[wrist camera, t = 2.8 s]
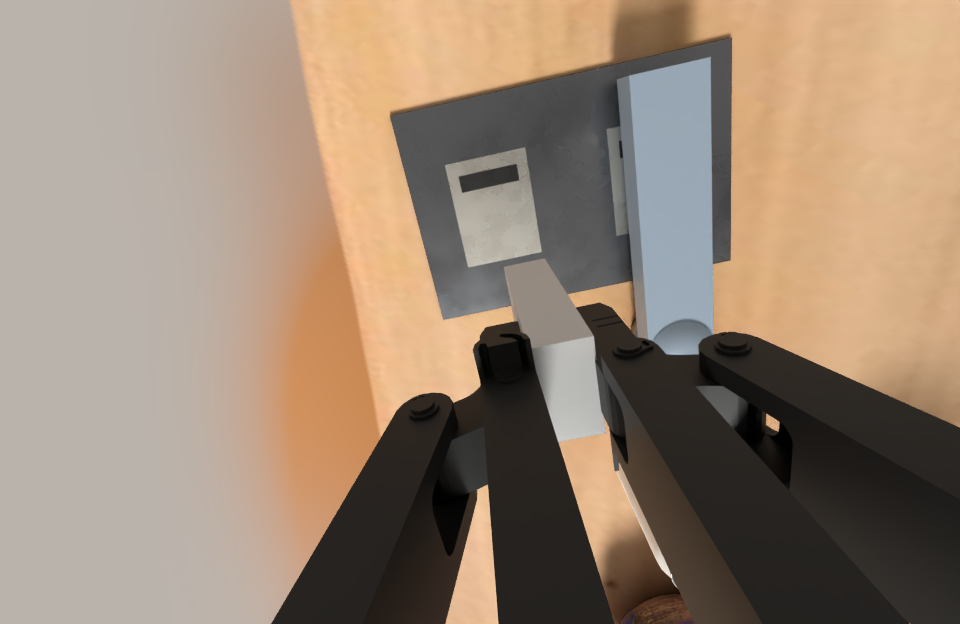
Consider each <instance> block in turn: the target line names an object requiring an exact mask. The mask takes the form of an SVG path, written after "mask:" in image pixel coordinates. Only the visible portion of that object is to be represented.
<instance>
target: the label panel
mask: <svg viewBox="0 0 960 624" xmlns="http://www.w3.org/2000/svg"><path fill="white" fill-rule="evenodd" d="M708 57H711V147H712V250H713V264H715V263H720V262H725V261H730V259H731V95H732V38H728V39H724V40H719V41H715V42H711V43H706V44H702V45H697V46H693V47H689V48H684V49H680V50H676V51H671V52H667V53H663V54H658V55H654V56H650V57H645V58H641V59H637V60H632V61H628V62H623V63H619V64H615V65H610V66H606V67H602V68H597V69H593V70H589V71H584V72H580V73H576V74H571V75H567V76H562V77H558V78H554V79H549V80H545V81H541V82H536V83H532V84H528V85H523V86H519V87H515V88H510V89H506V90H502V91H497V92H493V93H488V94H484V95H480V96H475V97H471V98H467V99H462V100H458V101H454V102H449V103H445V104H441V105H436V106H432V107H428V108H423V109H419V110H414V111H410V112H406V113H401V114H397V115H393V116H390V118H391V122H392V126H393V129H394V133H395V137H396V141H397V145H398V149H399V152H400V156H401V160H402V164H403V168H404V171H405V175H406V179H407V183H408V187H409V190H410V194H411V198H412V202H413V206H414V209H415V213H416V217H417V221H418V225H419V229H420V232H421V236H422V240H423V244H424V248H425V251H426V255H427V259H428V263H429V267H430V270H431V274H432V278H433V282H434V286H435V289H436V293H437V297H438V301H439V305H440V308H441V312H442V316H443V320H445V319H450V318H455V317H460V316H464V315H469V314H474V313H479V312H484V311H488V310H493V309H498V308H503V307H508V306H511V302H510V297H509V291H508V286H507V281H506V276H505V271H504V267H506V266H510V265H515V264H520V263H525V262H529V261H534V260H539V259H543V258H545V260H546V261H547V263H548V265H549V266H550V268H551V269H552V271H553V273H554V274H555V276H556V277H557V279H558V280H559V282H560V284H561V285H562V287H563V288H564V290H565V291H566V293H567V294H570V293H575V292H580V291H585V290H590V289H595V288H599V287H604V286H609V285H614V284H619V283H623V282H628V281H633V272H632V260H631V248H630V236H629V223H628V211H627V199H626V187H625V175H624V162H623V150H622V138H621V126H620V113H619V101H618V89H617V79H620V78H623V77H626V76H630V75H634V74H638V73H643V72H647V71H651V70H656V69H660V68H665V67H669V66H673V65H678V64H682V63H687V62H691V61H695V60H700V59H704V58H708Z"/></svg>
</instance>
